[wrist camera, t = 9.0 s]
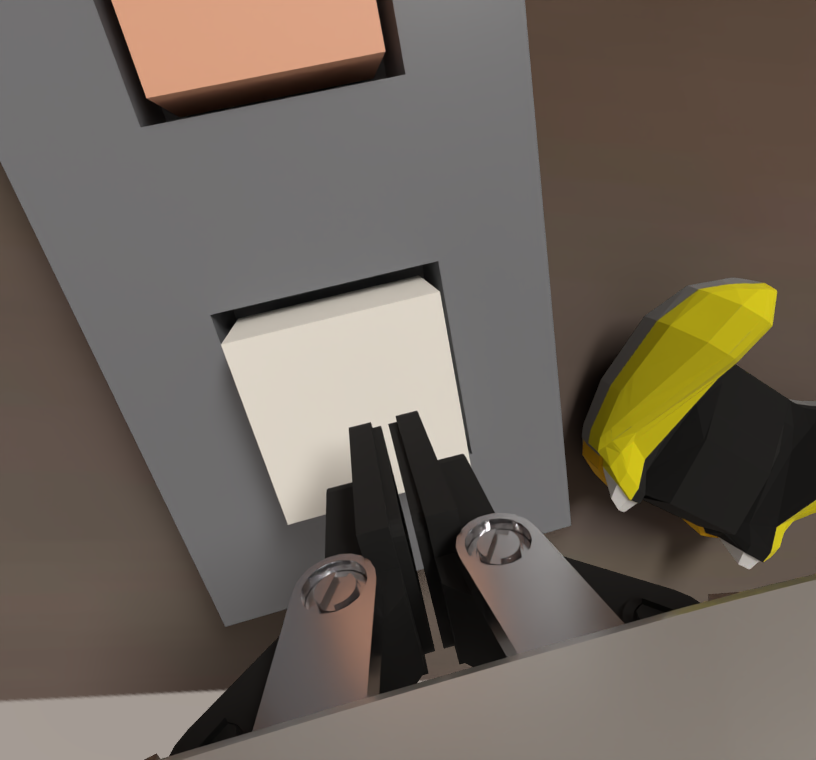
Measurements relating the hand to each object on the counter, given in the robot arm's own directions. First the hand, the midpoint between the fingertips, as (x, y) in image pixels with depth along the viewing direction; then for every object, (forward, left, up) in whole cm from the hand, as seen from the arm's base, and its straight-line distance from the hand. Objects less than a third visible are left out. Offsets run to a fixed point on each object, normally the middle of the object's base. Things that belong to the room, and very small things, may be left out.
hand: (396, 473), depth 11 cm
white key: (+1, 0, -6) cm, 6 cm away
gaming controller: (-15, +7, -9) cm, 19 cm away
